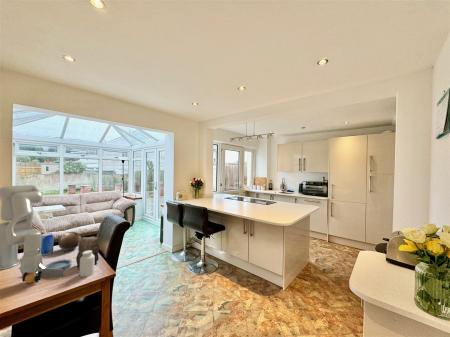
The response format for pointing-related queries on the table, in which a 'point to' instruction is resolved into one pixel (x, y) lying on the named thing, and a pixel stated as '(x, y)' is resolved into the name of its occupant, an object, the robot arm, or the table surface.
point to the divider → (52, 272)
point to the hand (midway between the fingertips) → (31, 280)
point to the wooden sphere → (69, 241)
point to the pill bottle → (87, 264)
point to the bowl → (60, 264)
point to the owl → (88, 248)
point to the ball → (30, 278)
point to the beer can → (47, 243)
